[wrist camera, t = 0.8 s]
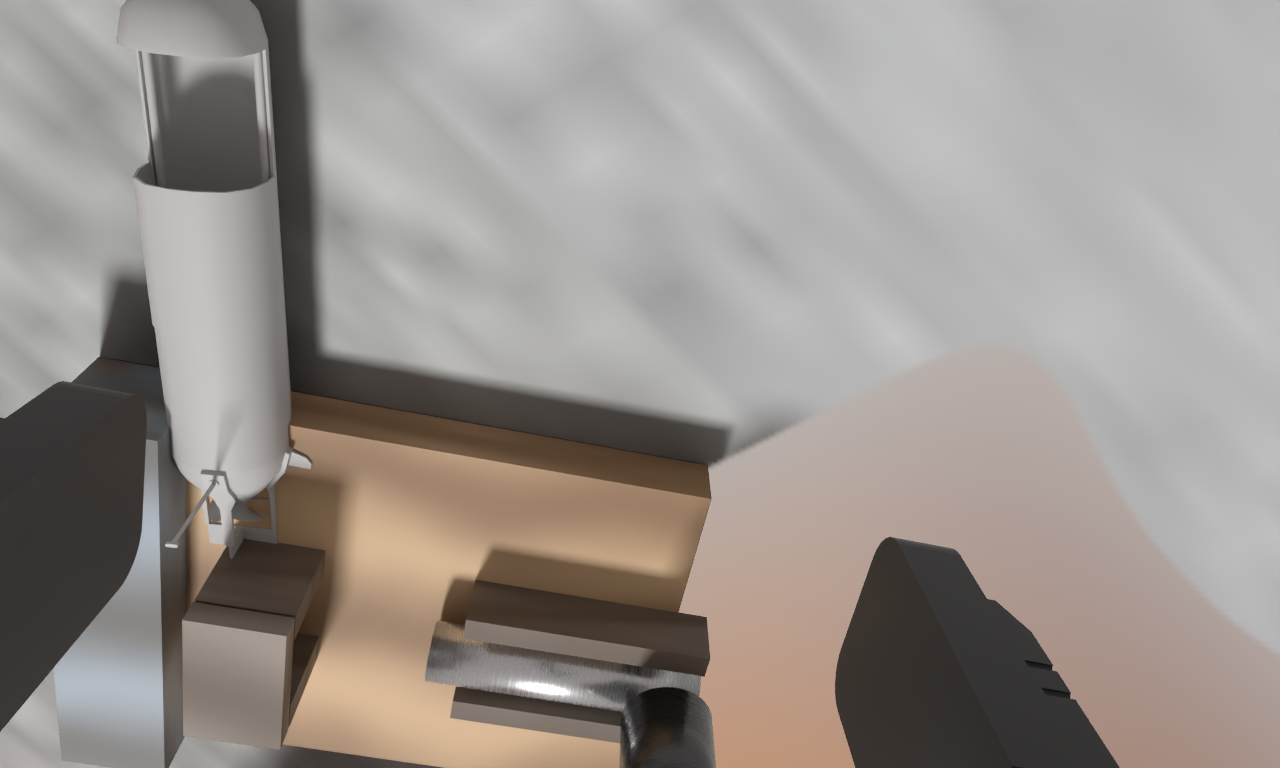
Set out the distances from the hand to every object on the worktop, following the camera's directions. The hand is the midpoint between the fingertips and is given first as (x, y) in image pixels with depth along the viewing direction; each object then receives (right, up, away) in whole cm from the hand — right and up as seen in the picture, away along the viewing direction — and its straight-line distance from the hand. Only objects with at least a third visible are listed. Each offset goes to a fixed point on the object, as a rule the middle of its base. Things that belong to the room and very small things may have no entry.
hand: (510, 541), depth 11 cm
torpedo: (-11, +5, +20) cm, 23 cm away
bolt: (-1, -8, +24) cm, 25 cm away
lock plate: (-8, -5, +25) cm, 27 cm away
